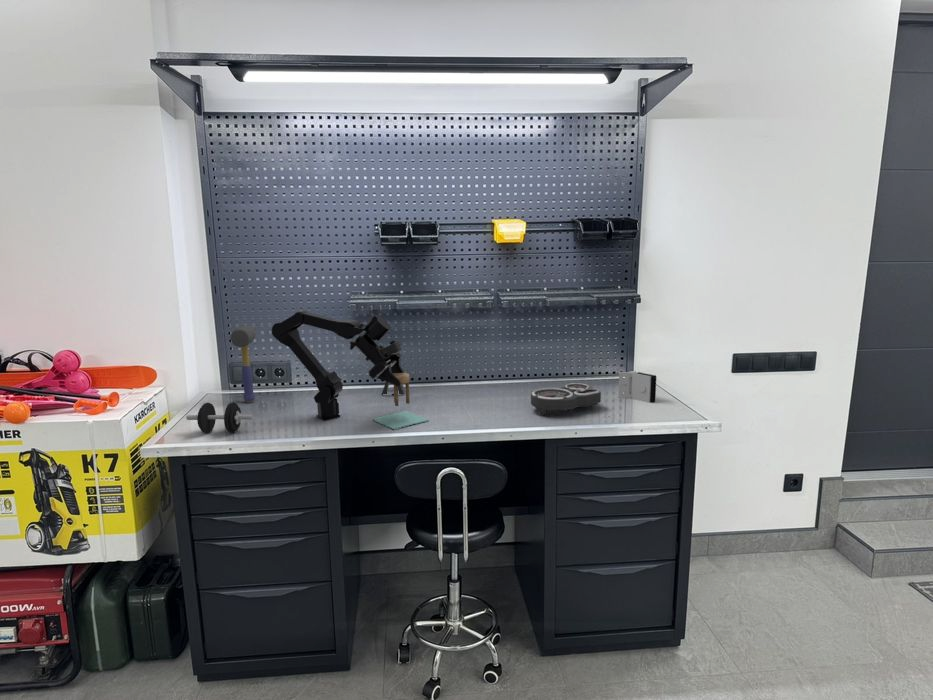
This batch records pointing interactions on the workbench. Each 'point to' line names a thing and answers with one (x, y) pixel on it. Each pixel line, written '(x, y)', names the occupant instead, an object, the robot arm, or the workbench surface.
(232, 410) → the dumbbell
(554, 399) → the motorcycle dashboard
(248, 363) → the rubber mallet
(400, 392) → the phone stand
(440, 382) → the workbench surface
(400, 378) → the walnut stool
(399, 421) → the rubber mat
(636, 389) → the hinge
